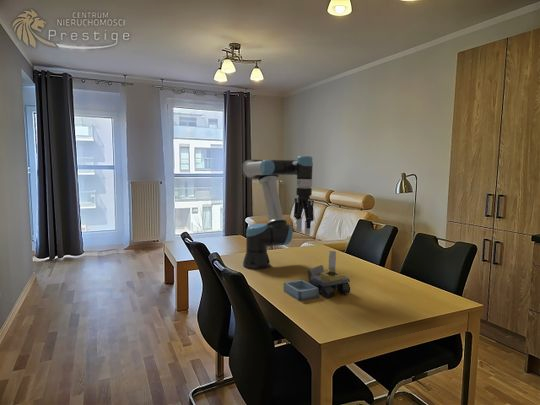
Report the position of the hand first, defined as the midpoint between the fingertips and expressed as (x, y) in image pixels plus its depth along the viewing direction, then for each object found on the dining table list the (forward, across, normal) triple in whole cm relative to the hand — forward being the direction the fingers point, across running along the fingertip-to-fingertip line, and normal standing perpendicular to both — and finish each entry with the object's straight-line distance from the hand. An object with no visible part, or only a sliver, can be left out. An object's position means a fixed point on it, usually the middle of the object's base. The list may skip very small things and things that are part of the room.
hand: (303, 233), depth 181 cm
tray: (+23, +19, -13) cm, 33 cm away
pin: (+16, +24, 0) cm, 29 cm away
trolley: (+23, +23, 0) cm, 33 cm away
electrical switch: (+23, +12, 0) cm, 26 cm away
